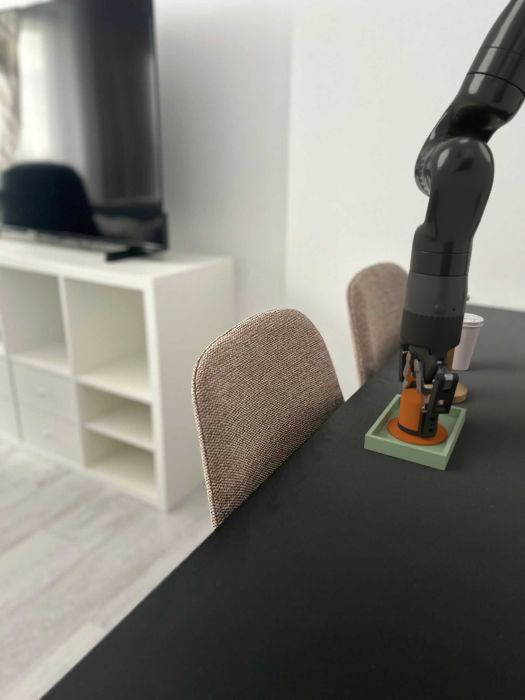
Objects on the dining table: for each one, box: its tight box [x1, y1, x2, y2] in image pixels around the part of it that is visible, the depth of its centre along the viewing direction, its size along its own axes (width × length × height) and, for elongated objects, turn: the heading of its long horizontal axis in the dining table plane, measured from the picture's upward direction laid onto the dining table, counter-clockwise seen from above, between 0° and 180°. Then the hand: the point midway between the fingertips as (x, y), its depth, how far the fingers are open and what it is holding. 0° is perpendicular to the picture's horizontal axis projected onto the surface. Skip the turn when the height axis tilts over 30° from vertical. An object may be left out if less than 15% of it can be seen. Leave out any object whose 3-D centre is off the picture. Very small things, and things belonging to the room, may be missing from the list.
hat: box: [387, 388, 447, 446], centre depth 70 cm, size 8×8×5 cm
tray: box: [363, 393, 468, 471], centre depth 71 cm, size 15×10×2 cm
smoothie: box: [452, 312, 485, 372], centre depth 93 cm, size 6×6×14 cm
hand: (417, 425), depth 71 cm, fingers closed on hat, 5 cm apart
